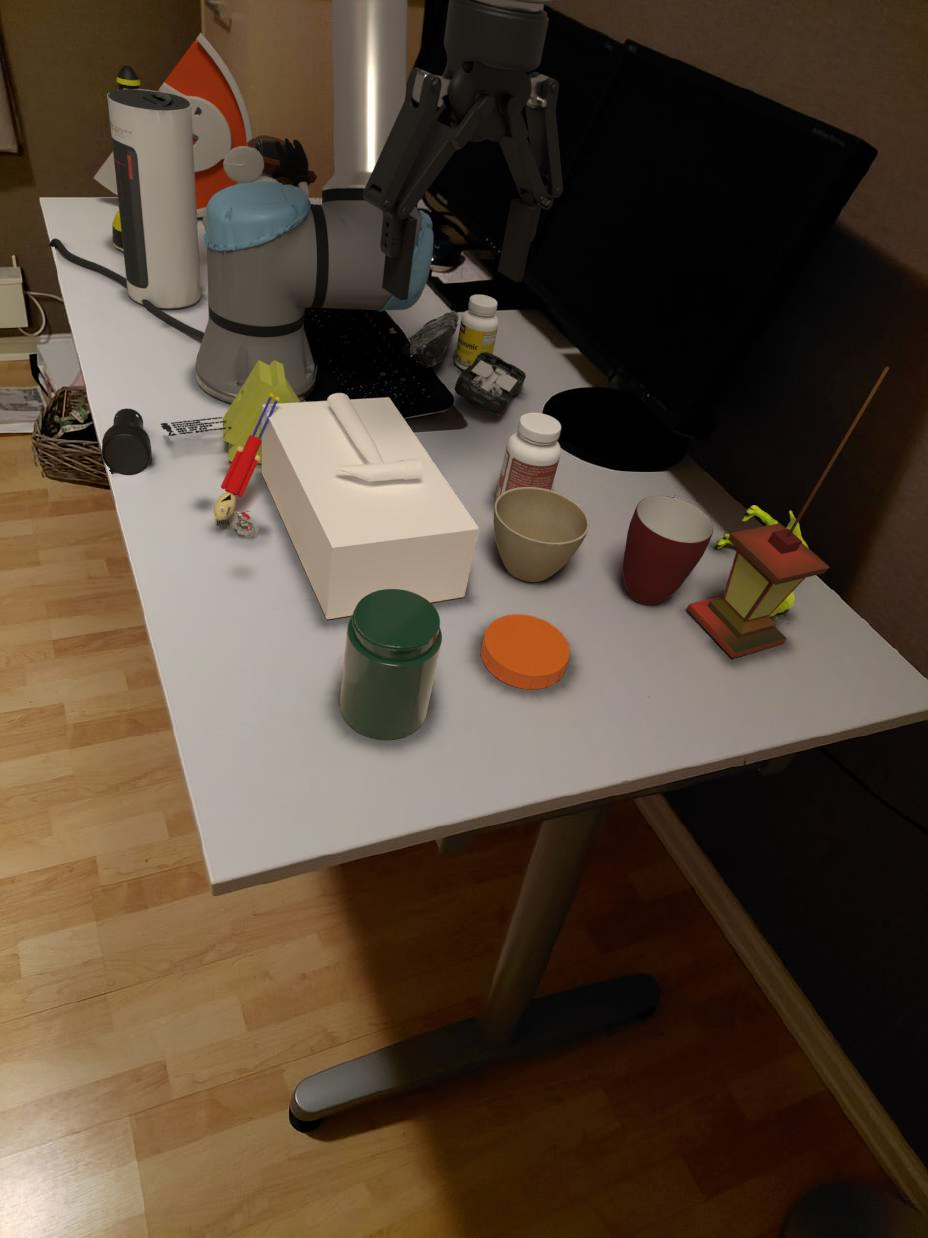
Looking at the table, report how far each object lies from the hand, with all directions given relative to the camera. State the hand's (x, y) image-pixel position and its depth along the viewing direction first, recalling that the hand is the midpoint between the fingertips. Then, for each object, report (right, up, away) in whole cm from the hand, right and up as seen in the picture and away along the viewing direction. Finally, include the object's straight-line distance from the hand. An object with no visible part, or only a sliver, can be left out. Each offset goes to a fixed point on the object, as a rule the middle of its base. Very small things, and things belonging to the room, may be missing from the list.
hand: (455, 284), depth 76 cm
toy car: (+5, +4, +39) cm, 40 cm away
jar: (-6, -38, -3) cm, 38 cm away
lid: (+7, -33, +4) cm, 34 cm away
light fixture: (+30, -31, +13) cm, 45 cm away
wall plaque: (-56, +41, +73) cm, 100 cm away
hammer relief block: (-11, -21, +15) cm, 28 cm away
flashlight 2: (-35, -8, +22) cm, 42 cm away
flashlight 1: (-51, +30, +61) cm, 85 cm away
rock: (-8, +13, +45) cm, 47 cm away
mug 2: (+21, -27, +16) cm, 38 cm away
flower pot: (+8, -25, +15) cm, 30 cm away
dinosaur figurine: (+33, -21, +26) cm, 47 cm away
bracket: (-24, -6, +18) cm, 31 cm away
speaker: (-44, +18, +49) cm, 68 cm away
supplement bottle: (+2, +7, +49) cm, 49 cm away
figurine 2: (-22, -21, +11) cm, 33 cm away
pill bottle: (+7, -17, +24) cm, 30 cm away
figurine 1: (-21, -6, +16) cm, 27 cm away
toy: (-13, +38, +66) cm, 77 cm away
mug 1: (-31, +35, +71) cm, 86 cm away
